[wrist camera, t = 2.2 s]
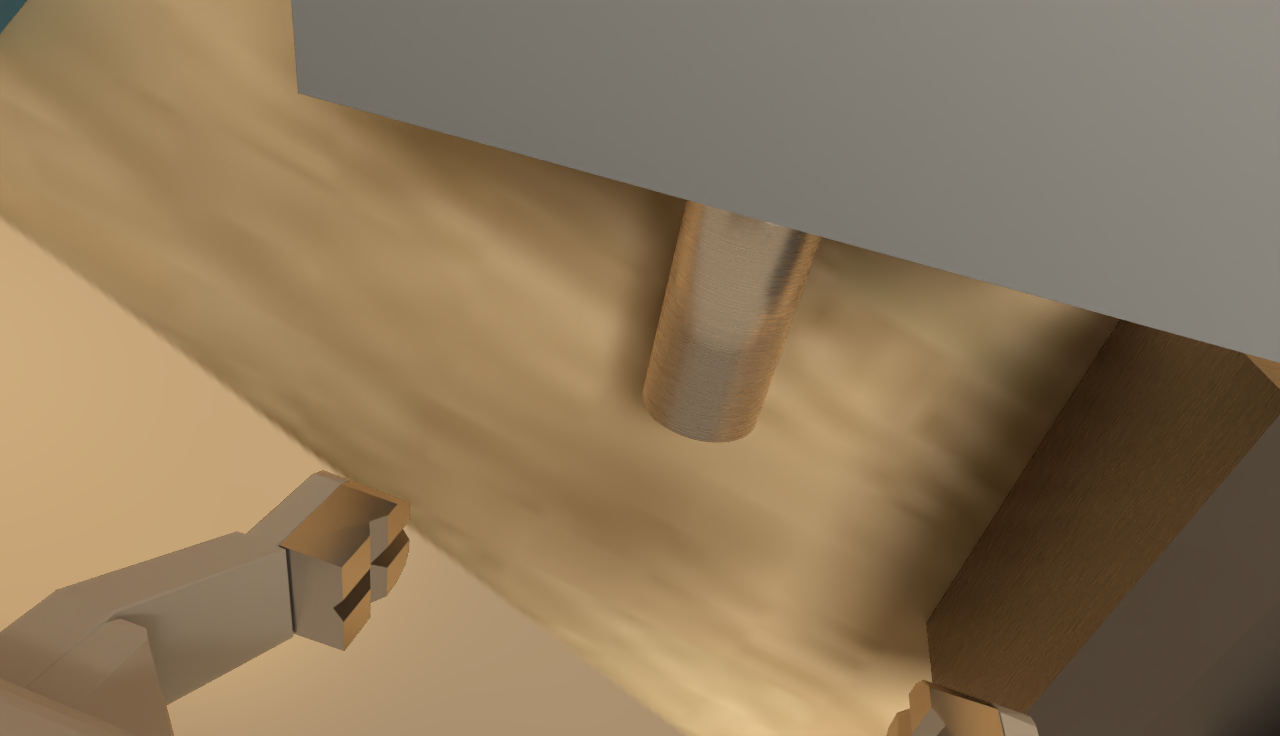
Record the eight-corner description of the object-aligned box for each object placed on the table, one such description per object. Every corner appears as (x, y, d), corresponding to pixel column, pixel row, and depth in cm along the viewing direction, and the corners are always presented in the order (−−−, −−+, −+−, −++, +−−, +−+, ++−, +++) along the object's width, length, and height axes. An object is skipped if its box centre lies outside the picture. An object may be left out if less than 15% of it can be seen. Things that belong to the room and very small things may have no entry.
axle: (807, -173, 13) (752, -212, 11) (968, -146, 12) (945, -183, 10) (673, 358, 20) (620, 406, 17) (773, 402, 19) (730, 459, 16)
